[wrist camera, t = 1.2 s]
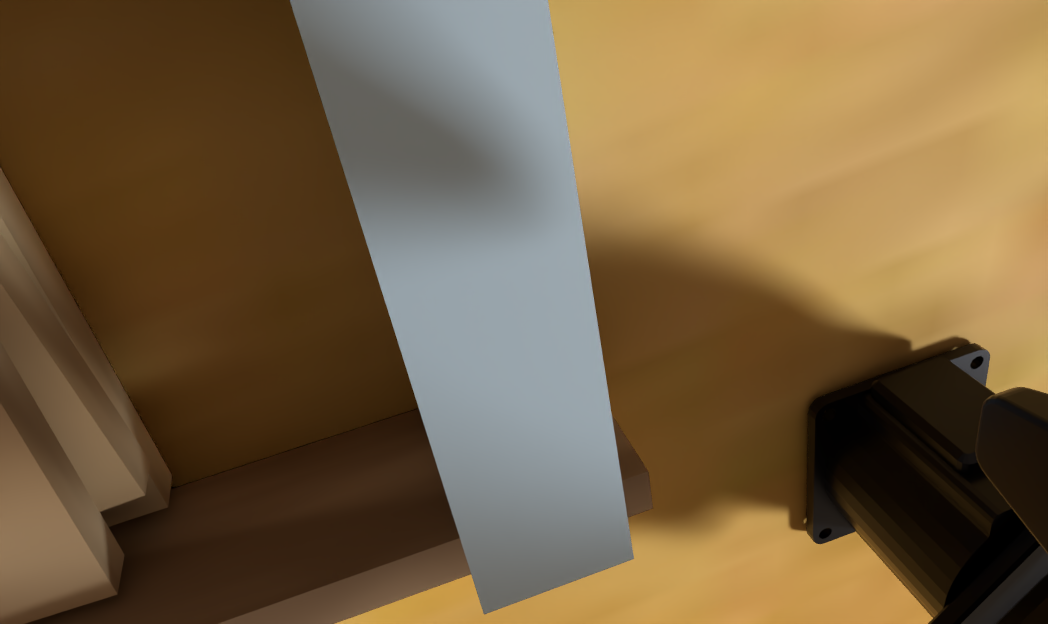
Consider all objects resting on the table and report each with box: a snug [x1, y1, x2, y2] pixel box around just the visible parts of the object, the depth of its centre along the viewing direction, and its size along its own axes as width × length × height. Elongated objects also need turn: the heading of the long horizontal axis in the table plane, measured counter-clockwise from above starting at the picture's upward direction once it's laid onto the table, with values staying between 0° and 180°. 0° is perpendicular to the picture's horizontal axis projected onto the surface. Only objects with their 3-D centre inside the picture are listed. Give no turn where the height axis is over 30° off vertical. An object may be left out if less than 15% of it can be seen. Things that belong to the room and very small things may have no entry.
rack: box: [25, 409, 653, 624], centre depth 16 cm, size 15×19×5 cm
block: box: [290, 0, 634, 614], centre depth 16 cm, size 11×3×8 cm, turn 10°
